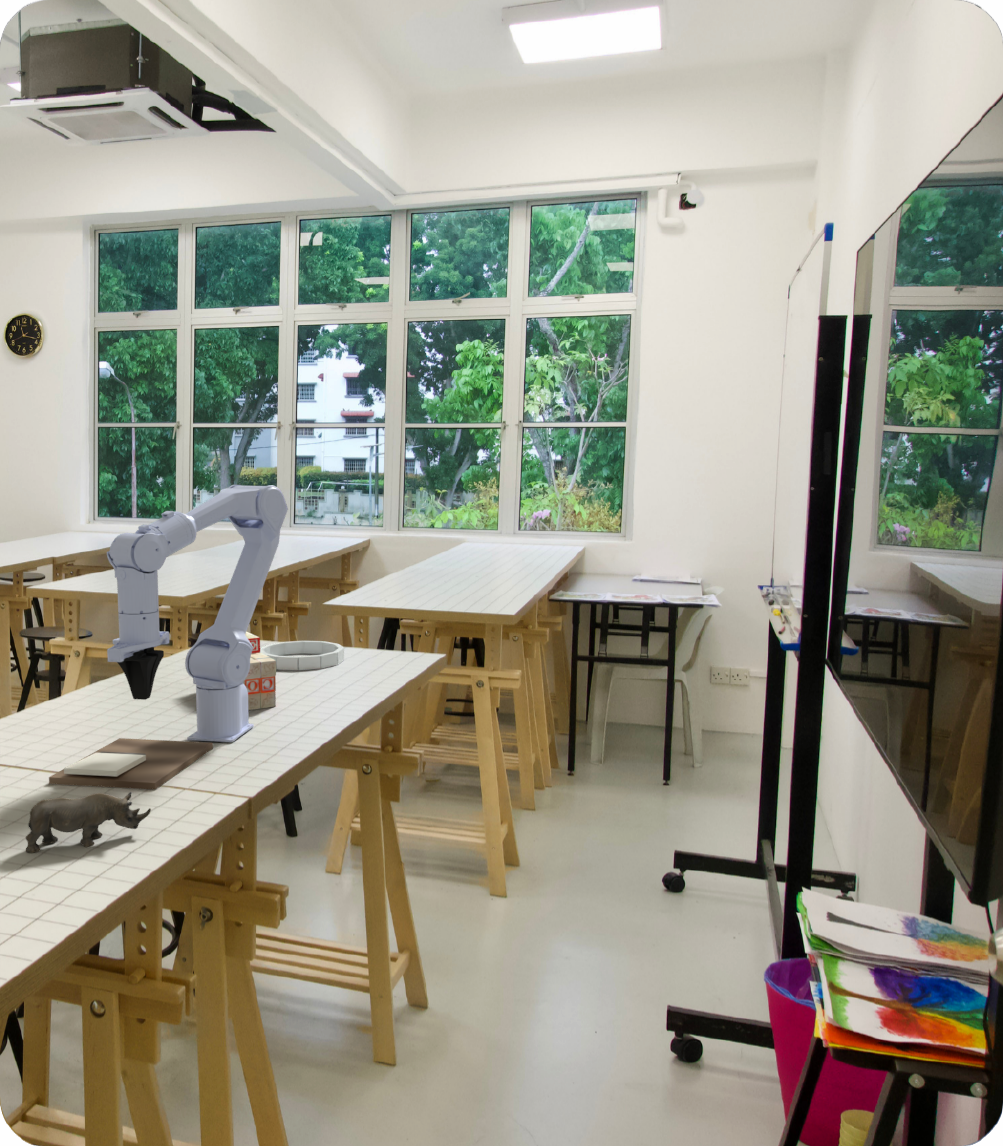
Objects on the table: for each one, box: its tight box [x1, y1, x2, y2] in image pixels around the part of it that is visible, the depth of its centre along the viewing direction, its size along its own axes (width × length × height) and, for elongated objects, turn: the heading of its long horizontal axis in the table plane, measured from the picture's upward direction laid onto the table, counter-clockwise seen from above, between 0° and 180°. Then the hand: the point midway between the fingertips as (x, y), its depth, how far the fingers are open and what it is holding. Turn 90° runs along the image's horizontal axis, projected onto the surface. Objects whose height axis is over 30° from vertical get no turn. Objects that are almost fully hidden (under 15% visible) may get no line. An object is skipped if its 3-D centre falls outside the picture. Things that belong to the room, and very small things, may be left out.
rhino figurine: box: [25, 791, 152, 854], centre depth 103 cm, size 4×14×6 cm, turn 111°
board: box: [48, 737, 214, 791], centre depth 130 cm, size 18×16×2 cm
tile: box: [63, 752, 146, 776], centre depth 126 cm, size 8×8×1 cm
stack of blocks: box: [243, 630, 277, 711], centre depth 171 cm, size 21×6×12 cm, turn 34°
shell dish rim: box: [260, 640, 345, 671], centre depth 204 cm, size 20×20×3 cm
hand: (141, 698), depth 131 cm, fingers closed
